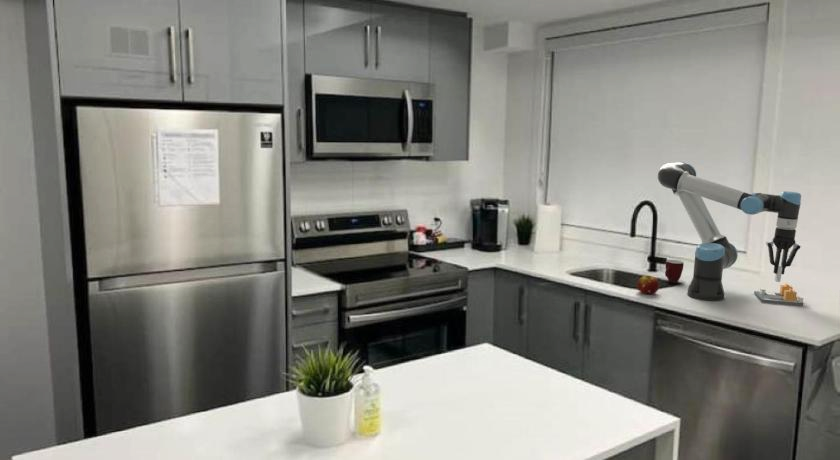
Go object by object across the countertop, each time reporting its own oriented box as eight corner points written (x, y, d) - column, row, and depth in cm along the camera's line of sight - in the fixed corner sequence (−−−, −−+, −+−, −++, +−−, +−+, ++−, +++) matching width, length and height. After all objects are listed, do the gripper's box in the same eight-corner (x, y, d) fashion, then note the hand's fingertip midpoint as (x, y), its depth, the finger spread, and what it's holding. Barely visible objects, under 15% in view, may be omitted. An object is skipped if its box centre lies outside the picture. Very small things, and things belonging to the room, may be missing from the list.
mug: (675, 285, 290) (677, 265, 289) (658, 281, 296) (660, 262, 294) (684, 281, 297) (686, 261, 296) (668, 278, 303) (670, 259, 301)
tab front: (785, 300, 262) (786, 289, 261) (783, 298, 264) (784, 287, 264) (795, 301, 260) (797, 290, 260) (793, 299, 263) (794, 288, 262)
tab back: (781, 295, 270) (782, 284, 269) (779, 293, 273) (780, 283, 272) (791, 295, 269) (792, 285, 268) (789, 294, 272) (790, 283, 271)
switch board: (761, 302, 264) (762, 295, 263) (754, 294, 277) (754, 286, 276) (803, 306, 259) (804, 298, 258) (793, 297, 272) (794, 290, 272)
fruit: (649, 297, 270) (650, 280, 268) (632, 292, 277) (633, 275, 276) (662, 294, 275) (663, 277, 273) (645, 289, 282) (646, 272, 281)
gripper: (771, 228, 256) (762, 281, 261) (805, 231, 253) (796, 285, 258) (766, 225, 264) (758, 277, 268) (800, 227, 260) (791, 280, 265)
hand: (777, 280), depth 263 cm, fingers closed
